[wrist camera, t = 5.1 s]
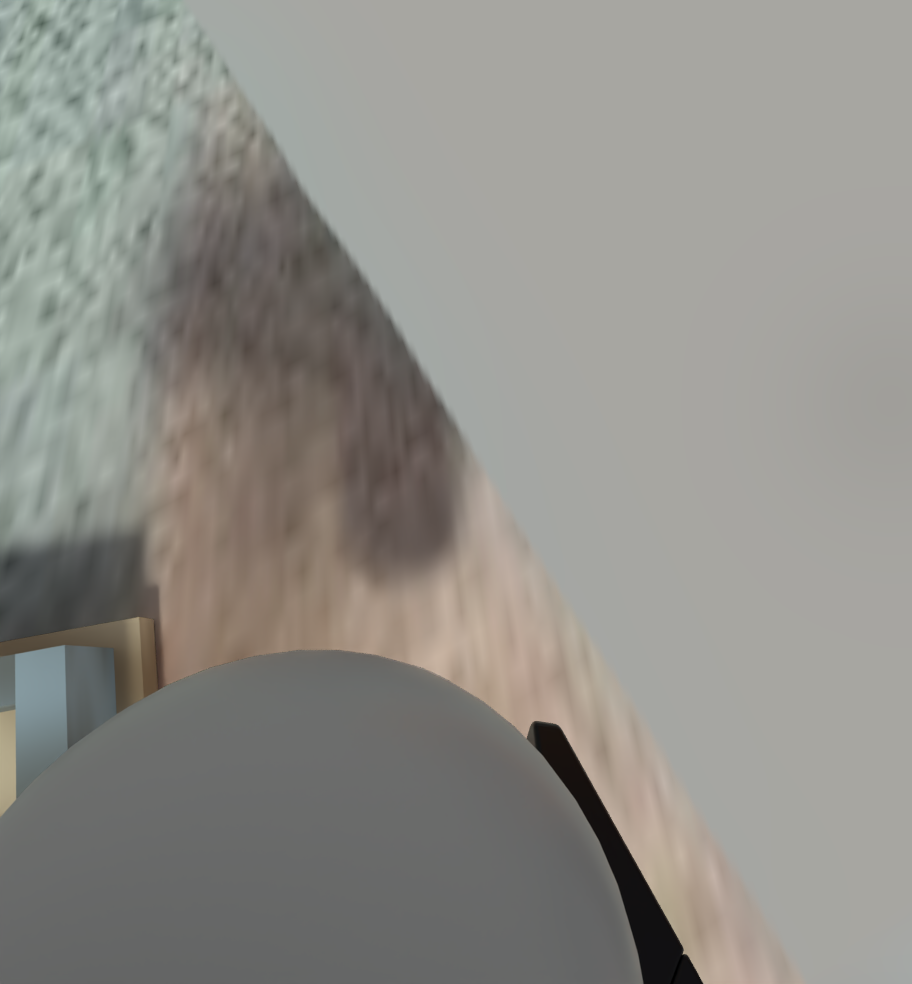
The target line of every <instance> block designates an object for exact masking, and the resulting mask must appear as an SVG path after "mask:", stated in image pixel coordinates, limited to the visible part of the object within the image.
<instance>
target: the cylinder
mask: <svg viewBox="0 0 912 984" xmlns="http://www.w3.org/2000/svg"><path fill="white" fill-rule="evenodd" d="M0 984H643V979H642V973H641V968H640V962H639V957H638V952H637V949H636V945H635V942H634V938H633V935H632V931H631V928H630V924H629V921H628V918H627V914H626V911H625V908H624V904H623V901H622V898H621V894H620V891H619V888H618V884H617V882H616V880H615V877H614V875H613V873H612V870H611V868H610V866H609V863H608V861H607V859H606V856H605V854H604V852H603V849H602V847H601V845H600V842H599V840H598V838H597V836H596V835H595V833H594V831H593V829H592V828H591V826H590V824H589V822H588V821H587V819H586V817H585V815H584V814H583V812H582V810H581V809H580V807H579V805H578V803H577V802H576V800H575V798H574V797H573V796H572V794H571V793H570V792H569V790H568V789H567V788H566V786H565V785H564V784H563V782H562V781H561V780H560V778H559V777H558V775H557V774H556V773H555V771H554V770H553V769H552V767H551V766H550V765H549V763H548V762H547V761H546V759H545V758H544V757H543V756H542V754H541V753H540V752H539V751H538V750H537V749H536V748H535V747H534V746H533V745H532V744H531V743H530V742H529V741H528V740H527V739H526V738H525V737H524V736H523V735H522V734H521V733H520V732H519V731H518V730H517V729H516V727H515V726H513V725H512V724H511V723H510V722H508V721H507V720H506V719H505V718H503V717H502V716H501V715H500V714H498V713H497V712H496V711H495V710H493V709H492V708H491V707H490V706H488V705H487V704H486V703H485V702H483V701H482V700H480V699H479V698H477V697H475V696H474V695H472V694H470V693H469V692H467V691H465V690H464V689H462V688H460V687H459V686H457V685H455V684H454V683H452V682H450V681H449V680H447V679H445V678H443V677H441V676H439V675H437V674H435V673H433V672H431V671H428V670H426V669H424V668H421V667H417V666H414V665H410V664H406V663H403V662H399V661H396V660H392V659H388V658H385V657H381V656H378V655H371V654H364V653H357V652H349V651H342V650H296V651H288V652H281V653H273V654H266V655H259V656H253V657H249V658H245V659H241V660H237V661H234V662H230V663H226V664H222V665H219V666H215V667H211V668H208V669H206V670H203V671H201V672H198V673H196V674H193V675H191V676H188V677H186V678H183V679H181V680H179V681H176V682H174V683H171V684H169V685H167V686H165V687H163V688H161V689H160V690H158V691H156V692H154V693H152V694H151V695H149V696H147V697H145V698H143V699H142V700H140V701H138V702H136V703H134V704H133V705H131V706H129V707H127V708H126V709H124V710H123V711H121V712H119V713H118V714H116V715H115V716H113V717H112V718H110V719H109V720H107V721H106V722H105V723H103V724H102V725H100V726H99V727H98V728H96V729H95V730H93V731H92V732H91V733H89V734H88V735H86V736H85V737H84V738H82V739H81V740H80V741H78V742H77V743H75V744H74V745H73V746H71V747H70V748H69V749H68V750H67V751H66V752H65V753H64V754H62V755H61V756H60V757H59V758H58V759H57V760H56V761H55V762H54V763H53V764H51V765H50V766H49V767H48V768H47V769H46V770H45V771H44V772H43V773H41V774H40V775H39V776H38V777H37V778H36V779H35V780H34V781H33V782H32V783H31V784H30V785H29V786H28V787H27V788H26V789H25V790H24V792H23V793H22V794H21V795H20V796H19V797H18V798H17V799H16V800H15V801H14V802H13V804H12V805H11V806H10V807H9V808H8V809H7V810H6V811H5V813H4V814H3V815H2V816H1V817H0Z"/></svg>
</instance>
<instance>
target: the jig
mask: <svg viewBox="0 0 912 984" xmlns="http://www.w3.org/2000/svg"><path fill="white" fill-rule="evenodd" d="M156 691H158V681H157V665H156V650H155V634H154V619H149V618H143V617H135V618H130V619H124V620H119V621H113V622H108V623H102V624H97V625H92V626H86V627H81V628H75V629H70V630H64V631H59V632H53V633H48V634H42V635H37V636H31V637H26V638H21V639H15V640H10V641H4V642H0V817H1V816H2V815H3V814H4V813H5V811H6V810H7V809H8V808H9V807H10V806H11V805H12V804H13V802H14V801H15V800H16V799H17V798H18V797H19V796H20V795H21V794H22V793H23V792H24V790H25V789H26V788H27V787H28V786H29V785H30V784H31V783H32V782H33V781H34V780H35V779H36V778H37V777H38V776H39V775H40V774H41V773H43V772H44V771H45V770H46V769H47V768H48V767H49V766H50V765H51V764H53V763H54V762H55V761H56V760H57V759H58V758H59V757H60V756H61V755H62V754H64V753H65V752H66V751H67V750H68V749H69V748H70V747H71V746H73V745H74V744H75V743H77V742H78V741H80V740H81V739H82V738H84V737H85V736H86V735H88V734H89V733H91V732H92V731H93V730H95V729H96V728H98V727H99V726H100V725H102V724H103V723H105V722H106V721H107V720H109V719H110V718H112V717H113V716H115V715H116V714H118V713H119V712H121V711H123V710H124V709H126V708H127V707H129V706H131V705H133V704H134V703H136V702H138V701H140V700H142V699H143V698H145V697H147V696H149V695H151V694H152V693H154V692H156Z"/></svg>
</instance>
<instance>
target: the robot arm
mask: <svg viewBox="0 0 912 984" xmlns="http://www.w3.org/2000/svg"><path fill="white" fill-rule="evenodd" d="M527 740H528V741H529V742H530V743H531V744H532V745H533V746H534V747H535V748H536V749H537V750H538V751H539V752H540V753H541V754H542V756H543V757H544V758H545V759H546V761H547V762H548V763H549V765H550V766H551V767H552V769H553V770H554V771H555V773H556V774H557V775H558V777H559V778H560V780H561V781H562V782H563V784H564V785H565V786H566V788H567V789H568V790H569V792H570V793H571V794H572V796H573V797H574V798H575V800H576V802H577V803H578V805H579V807H580V809H581V810H582V812H583V814H584V815H585V817H586V819H587V821H588V822H589V824H590V826H591V828H592V829H593V831H594V833H595V835H596V836H597V838H598V840H599V842H600V845H601V847H602V849H603V852H604V854H605V856H606V859H607V861H608V863H609V866H610V868H611V870H612V873H613V875H614V877H615V880H616V882H617V884H618V888H619V891H620V894H621V898H622V901H623V904H624V908H625V911H626V914H627V918H628V921H629V924H630V928H631V931H632V935H633V938H634V942H635V945H636V949H637V952H638V957H639V962H640V968H641V973H642V979H643V984H703V982H702V980H701V979H700V977H699V975H698V973H697V971H696V970H695V968H694V966H693V964H692V962H691V960H690V959H689V957H688V956H687V955H686V954H683V951H684V949H683V946H682V945H681V943H680V941H679V939H678V938H677V936H676V934H675V932H674V930H673V929H672V927H671V925H670V923H669V921H668V920H667V918H666V916H665V914H664V912H663V911H662V909H661V907H660V905H659V903H658V902H657V900H656V898H655V896H654V894H653V893H652V891H651V889H650V887H649V885H648V884H647V882H646V880H645V878H644V876H643V875H642V873H641V871H640V869H639V867H638V866H637V864H636V862H635V860H634V858H633V857H632V855H631V853H630V851H629V849H628V848H627V846H626V844H625V842H624V841H623V839H622V837H621V835H620V833H619V832H618V830H617V828H616V826H615V824H614V823H613V821H612V819H611V817H610V815H609V814H608V812H607V810H606V808H605V806H604V805H603V803H602V801H601V799H600V797H599V796H598V794H597V792H596V790H595V788H594V787H593V785H592V783H591V781H590V779H589V778H588V776H587V774H586V772H585V770H584V769H583V767H582V765H581V763H580V761H579V760H578V758H577V756H576V754H575V752H574V751H573V749H572V747H571V745H570V744H569V742H568V740H567V738H566V736H565V735H564V733H563V731H562V729H561V728H560V727H559V726H558V725H557V724H553V723H546V722H540V721H534V722H533V723H532V724H531V726H530V729H529V732H528V736H527ZM682 954H683V955H682Z"/></svg>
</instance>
